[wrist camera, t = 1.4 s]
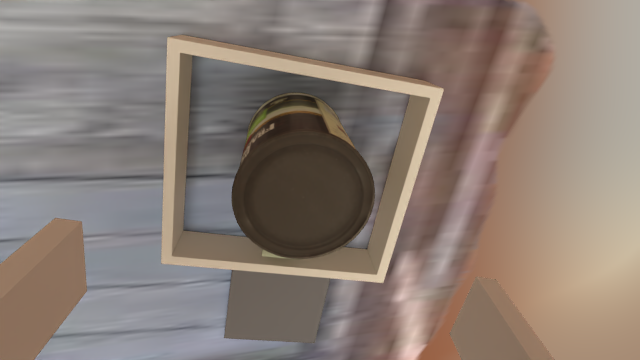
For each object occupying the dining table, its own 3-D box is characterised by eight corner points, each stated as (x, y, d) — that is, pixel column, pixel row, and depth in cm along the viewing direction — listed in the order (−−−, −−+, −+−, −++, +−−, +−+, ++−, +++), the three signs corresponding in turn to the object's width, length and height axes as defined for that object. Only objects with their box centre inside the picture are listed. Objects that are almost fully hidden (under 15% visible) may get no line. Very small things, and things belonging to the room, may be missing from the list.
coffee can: (232, 163, 39) (209, 233, 27) (270, 74, 36) (267, 105, 23) (317, 198, 42) (334, 277, 29) (360, 118, 39) (401, 167, 26)
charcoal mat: (313, 337, 51) (314, 343, 50) (225, 332, 49) (224, 338, 48) (331, 266, 46) (332, 271, 45) (234, 257, 44) (233, 262, 43)
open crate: (372, 256, 46) (383, 282, 42) (173, 237, 42) (161, 263, 38) (424, 80, 38) (443, 88, 33) (182, 34, 34) (167, 37, 29)
